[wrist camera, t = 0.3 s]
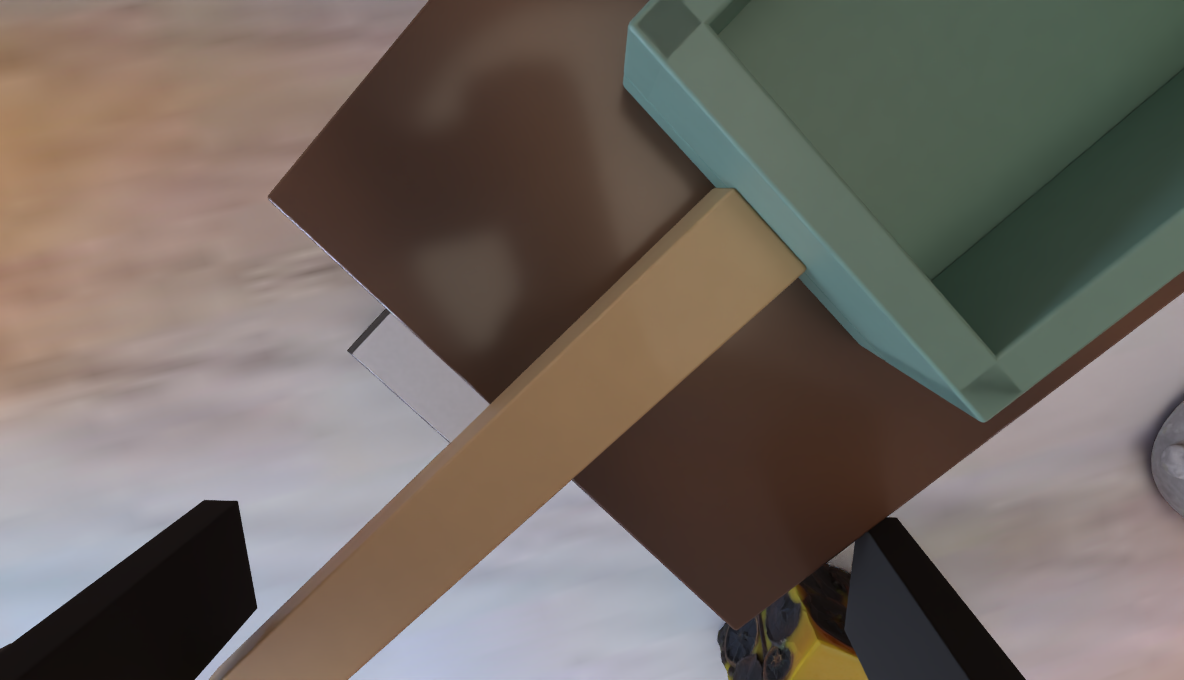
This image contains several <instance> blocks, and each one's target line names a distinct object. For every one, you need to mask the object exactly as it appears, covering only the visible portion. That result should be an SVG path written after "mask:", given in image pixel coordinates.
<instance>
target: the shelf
mask: <svg viewBox="0 0 1184 680" xmlns="http://www.w3.org/2000/svg"><path fill="white" fill-rule="evenodd" d="M648 2H649V0H429V1H428V2H427V3H426V5H425V6H424V7H423V8H422V9H421V11H420V12H419V13H418V14H417V15H416V17H415V18H414V19H413V20H412V22H411V23H410V24H409V25H408V26H407V28H406V29H405V30H404V31H403V32H402V34H401V35H400V36H399V37H398V39H397V40H396V41H395V42H394V43H393V45H392V46H391V47H390V48H389V49H388V51H387V52H386V53H385V54H384V56H383V57H382V58H381V59H380V60H379V62H378V63H377V64H376V65H375V66H374V68H373V69H372V70H371V71H370V72H369V74H368V75H367V76H366V77H365V79H364V80H363V81H362V82H361V83H360V85H359V86H358V87H357V88H356V89H355V91H354V92H353V93H352V94H351V96H350V97H349V98H348V99H347V100H346V102H345V103H344V104H343V105H342V106H341V108H340V109H339V110H338V111H337V113H336V114H335V115H334V116H333V117H332V119H331V120H330V121H329V122H328V123H327V125H326V126H325V127H324V128H323V130H322V131H321V132H320V133H319V134H318V136H317V137H316V138H315V139H314V140H313V142H312V143H311V144H310V145H309V147H308V148H307V149H306V150H305V151H304V153H303V154H302V155H301V156H300V157H299V159H298V160H297V161H296V162H295V164H294V165H293V166H292V167H291V168H290V170H289V171H288V172H287V173H286V174H285V176H284V177H283V178H282V179H281V180H280V182H279V183H278V184H277V185H276V187H275V188H274V189H273V190H272V191H271V193H270V194H269V195H268V199H269V201H270V202H271V203H273V204H274V205H275V206H276V207H277V208H278V209H279V210H280V211H281V212H282V213H283V214H284V215H285V216H287V217H288V218H289V219H290V220H291V221H292V222H293V223H294V224H295V225H296V226H297V227H298V228H300V229H301V230H302V231H303V232H304V233H305V234H306V235H307V236H308V237H309V238H310V239H311V240H313V241H314V242H315V243H316V244H317V245H318V246H319V247H320V248H321V249H322V250H323V251H324V252H326V253H327V254H328V255H329V256H330V257H331V258H332V259H333V260H334V261H335V262H336V263H337V264H339V265H340V266H341V267H342V268H343V269H344V270H345V271H346V272H347V273H348V274H349V275H350V276H352V277H353V278H354V279H355V280H356V281H357V282H358V283H359V284H360V285H361V286H362V287H363V288H365V289H366V290H367V291H368V292H369V293H370V294H371V295H372V296H373V297H374V298H375V299H376V300H377V301H379V302H380V303H381V304H382V305H383V306H384V307H385V308H386V309H387V310H388V311H389V312H390V313H392V314H393V315H394V316H395V317H396V318H397V319H398V320H399V321H400V322H401V323H402V324H403V325H405V326H406V327H407V328H408V329H409V330H410V331H411V332H412V333H413V334H414V335H415V336H416V337H418V338H419V339H420V340H421V341H422V342H423V343H424V344H425V345H426V346H427V347H428V348H429V349H431V350H432V351H433V352H434V353H435V354H436V355H437V356H438V357H439V358H440V359H441V360H442V361H444V362H445V363H446V364H447V365H448V366H449V367H450V368H451V369H452V370H453V371H454V372H455V373H457V374H458V375H459V376H460V377H461V378H462V379H463V380H464V381H465V382H466V383H467V384H468V385H470V386H471V387H472V388H473V389H474V390H475V391H476V392H477V393H478V394H479V395H480V396H481V397H482V398H484V399H485V400H486V401H487V402H488V403H489V404H491V403H492V402H493V401H494V400H495V399H496V398H497V397H498V396H499V395H500V394H501V393H502V392H503V391H504V390H506V389H507V388H508V387H509V386H510V385H511V384H512V383H513V382H514V381H515V380H516V379H517V378H518V377H519V376H520V375H521V374H522V373H523V372H524V371H525V370H526V369H527V368H528V367H529V366H530V365H531V364H532V363H533V362H534V361H535V360H536V359H538V358H539V357H540V356H541V355H542V354H543V353H544V352H545V351H546V350H547V349H548V348H549V347H550V346H551V345H552V344H553V343H554V342H555V341H556V340H557V339H558V338H559V337H560V336H561V335H562V334H563V333H564V332H565V331H566V330H567V329H568V328H569V327H571V326H572V325H573V324H574V323H575V322H576V321H577V320H578V319H579V318H580V317H581V316H582V315H583V314H584V313H585V312H586V311H587V310H588V309H589V308H590V307H591V306H592V305H593V304H594V303H595V302H596V301H597V300H598V299H599V298H600V297H601V296H603V295H604V294H605V293H606V292H607V291H608V290H609V289H610V288H611V287H612V286H613V285H614V284H615V283H616V282H617V281H618V280H619V279H620V278H621V277H622V276H623V275H624V274H625V273H626V272H627V271H628V270H629V269H630V268H631V267H632V266H633V265H635V264H636V263H637V262H638V261H639V260H640V259H641V258H642V257H643V256H644V255H645V254H646V253H647V252H648V251H649V250H650V249H651V248H652V247H653V246H654V245H655V244H656V243H657V242H658V241H659V240H660V239H661V238H662V237H663V236H664V235H665V234H667V233H668V232H669V231H670V230H671V229H672V228H673V227H674V226H675V225H676V224H677V223H678V222H679V221H680V220H681V219H682V218H683V217H684V216H685V215H686V214H687V213H688V212H689V211H690V210H691V209H692V208H693V207H694V206H695V205H696V204H697V203H699V202H700V201H701V200H702V199H703V198H704V197H705V196H706V195H707V194H708V193H709V192H710V191H711V190H712V189H714V188H716V187H715V186H714V185H713V184H712V183H711V181H710V180H709V179H708V178H707V177H706V176H705V175H704V174H703V173H702V172H701V171H700V169H699V168H698V167H697V166H696V165H695V164H694V163H693V162H692V161H691V160H690V159H689V157H688V156H687V155H686V154H685V153H684V152H683V151H682V150H681V149H680V148H679V146H678V145H677V144H676V143H675V142H674V141H673V140H672V139H671V138H670V137H669V136H668V134H667V133H666V132H665V131H664V130H663V129H662V128H661V127H660V126H659V125H658V124H657V122H656V121H655V120H654V119H653V118H652V117H651V116H650V115H649V114H648V113H647V111H646V110H645V109H644V108H643V107H642V106H641V105H640V104H639V103H638V102H637V101H636V99H635V98H634V97H633V96H632V95H631V94H630V93H629V92H628V91H627V90H626V89H625V87H624V85H623V77H624V63H625V53H626V42H627V32H628V25H629V23H630V21H631V20H632V19H633V18H634V17H635V16H636V15H637V13H638V12H639V11H640V10H641V9H642V8H643V7H644V6H645V5H646V4H647V3H648ZM1183 292H1184V271H1183V272H1182V273H1180V274H1179V275H1178V276H1176V277H1175V278H1174V279H1172V280H1171V281H1170V282H1168V283H1167V284H1166V285H1165V286H1163V287H1162V288H1161V289H1159V290H1158V291H1157V292H1155V293H1154V294H1153V295H1152V296H1150V297H1149V298H1148V299H1146V300H1145V301H1144V302H1142V303H1141V304H1140V305H1138V306H1137V307H1136V308H1135V309H1133V310H1132V311H1131V312H1129V313H1128V314H1127V315H1125V316H1124V317H1123V318H1121V319H1120V320H1119V321H1118V322H1116V323H1115V324H1114V325H1112V326H1111V327H1110V328H1108V329H1107V330H1106V331H1105V332H1103V333H1102V334H1101V335H1099V336H1098V337H1097V338H1095V339H1094V340H1093V341H1091V342H1090V343H1089V344H1088V345H1086V346H1085V347H1084V348H1082V349H1081V350H1080V351H1078V352H1077V353H1076V354H1074V355H1073V356H1072V357H1071V358H1069V359H1068V360H1067V361H1065V362H1064V363H1063V364H1061V365H1060V366H1059V367H1058V368H1056V369H1055V370H1054V371H1052V372H1051V373H1050V374H1048V375H1047V376H1046V377H1044V378H1043V379H1042V380H1041V381H1039V382H1038V383H1037V384H1035V385H1034V386H1033V387H1031V388H1030V389H1029V390H1027V391H1026V392H1025V393H1024V394H1022V395H1021V396H1020V397H1018V398H1017V399H1016V400H1014V401H1013V402H1012V403H1011V404H1009V405H1008V406H1007V407H1005V408H1004V409H1003V410H1001V411H1000V412H999V413H997V414H996V415H995V416H994V417H992V418H991V419H990V420H988V421H987V422H980V421H978V420H977V419H975V418H974V417H972V416H970V415H969V414H967V413H966V412H964V411H963V410H961V409H959V408H958V407H956V406H955V405H953V404H952V403H950V402H948V401H947V400H945V399H944V398H942V397H941V396H939V395H937V394H936V393H934V392H933V391H931V390H930V389H928V388H926V387H925V386H923V385H922V384H920V383H919V382H917V381H915V380H914V379H912V378H911V377H909V376H908V375H906V374H905V373H903V372H901V371H900V370H898V369H897V368H895V367H894V366H892V365H890V364H889V363H887V362H886V361H885V360H883V359H881V358H880V357H878V356H877V355H875V354H873V353H872V352H870V351H869V350H867V349H866V348H864V347H862V346H861V345H860V344H859V343H858V342H857V341H856V340H855V339H854V338H853V337H852V336H851V335H850V333H849V332H848V331H847V330H846V329H845V328H844V327H843V326H842V325H841V324H840V323H839V321H838V320H837V319H836V318H835V317H834V316H833V315H832V314H831V313H830V312H829V310H828V309H827V308H826V307H825V306H824V305H823V304H822V303H821V302H820V301H819V300H818V298H817V297H816V296H815V295H814V294H813V293H812V292H811V291H810V290H809V289H808V288H807V286H806V285H805V284H804V283H803V282H802V281H801V280H800V279H799V278H797V279H796V280H795V281H794V282H792V283H791V284H790V285H789V286H788V287H787V288H786V289H785V290H783V291H782V292H781V293H780V294H779V295H778V296H777V297H776V298H775V299H773V300H772V301H771V302H770V303H769V304H768V305H767V306H766V307H764V308H763V309H762V310H761V311H760V312H759V313H758V314H757V315H755V316H754V317H753V318H752V319H751V320H750V321H749V322H748V323H747V324H745V325H744V326H743V327H742V328H741V329H740V330H739V331H738V332H736V333H735V334H734V335H733V336H732V337H731V338H730V339H729V340H728V341H726V342H725V343H724V344H723V345H722V346H721V347H720V348H719V349H717V350H716V351H715V352H714V353H713V354H712V355H711V356H710V357H708V358H707V359H706V360H705V361H704V362H703V363H702V364H701V365H700V366H698V367H697V368H696V369H695V370H694V371H693V372H692V373H691V374H689V375H688V376H687V377H686V378H685V379H684V380H683V381H682V382H680V383H679V384H678V385H677V386H676V387H675V388H674V389H673V390H672V391H670V392H669V393H668V394H667V395H666V396H665V397H664V398H663V399H661V400H660V401H659V402H658V403H657V404H656V405H655V406H654V407H653V408H651V409H650V410H649V411H648V412H647V413H646V414H645V415H644V416H642V417H641V418H640V419H639V420H638V421H637V422H636V423H635V424H633V425H632V426H631V427H630V428H629V429H628V430H627V431H626V432H625V433H623V434H622V435H621V436H620V437H619V438H618V439H617V440H616V441H614V442H613V443H612V444H611V445H610V446H609V447H608V448H607V449H605V450H604V451H603V452H602V453H601V454H600V455H599V456H598V457H597V458H595V459H594V460H593V461H592V462H591V463H590V464H589V465H588V466H586V467H585V468H584V469H583V470H582V471H581V472H580V473H579V474H577V475H576V476H575V477H574V478H573V479H572V481H573V482H574V483H576V484H577V485H578V486H579V487H580V488H581V489H582V490H583V491H584V492H585V493H586V494H587V495H589V496H590V497H591V498H592V499H593V500H594V501H595V502H596V503H597V504H598V505H599V506H600V507H602V508H603V509H604V510H605V511H606V512H607V513H608V514H609V515H610V516H611V517H612V518H613V519H615V520H616V521H617V522H618V523H619V524H620V525H621V526H622V527H623V528H624V529H625V530H626V531H628V532H629V533H630V534H631V535H632V536H633V537H634V538H635V539H636V540H637V541H638V542H639V543H641V544H642V545H643V546H644V547H645V548H646V549H647V550H648V551H649V552H650V553H651V554H652V555H654V556H655V557H656V558H657V559H658V560H659V561H660V562H661V563H662V564H663V565H664V566H665V567H667V568H668V569H669V570H670V571H671V572H672V573H673V574H674V575H675V576H676V577H677V578H678V579H679V580H681V581H682V582H683V583H684V584H685V585H686V586H687V587H688V588H689V589H690V590H691V591H692V592H694V593H695V594H696V595H697V596H698V597H699V598H700V599H701V600H702V601H703V602H704V603H705V604H707V605H708V606H709V607H710V608H711V609H712V610H713V611H714V612H715V613H716V614H717V615H718V616H720V617H721V618H722V619H723V620H724V621H725V622H726V623H727V624H728V625H729V626H730V627H731V628H733V629H734V630H738V629H740V628H741V627H742V626H744V625H745V624H746V623H748V622H749V621H750V620H752V619H753V618H754V617H756V616H757V615H758V614H759V613H761V612H762V611H763V610H765V609H766V608H767V607H769V606H770V605H771V604H773V603H774V602H775V601H777V600H778V599H779V598H781V597H782V596H783V595H785V594H786V593H787V592H789V591H790V590H791V589H792V588H794V587H795V586H796V585H798V584H799V583H800V582H802V581H803V580H804V579H806V578H807V577H808V576H810V575H811V574H812V573H814V572H815V571H816V570H818V569H819V568H820V567H821V566H823V565H824V564H825V563H827V562H828V561H829V560H831V559H832V558H833V557H835V556H836V555H837V554H839V553H840V552H841V551H843V550H844V549H845V548H847V547H848V546H849V545H851V544H852V543H853V542H854V541H856V540H857V539H858V538H860V537H861V536H862V535H864V534H865V533H866V532H868V531H869V530H870V529H872V528H873V527H874V526H876V525H877V524H878V523H880V522H881V521H882V520H884V519H885V518H886V517H887V516H889V515H890V514H891V513H893V512H894V511H895V510H897V509H898V508H899V507H901V506H902V505H903V504H905V503H906V502H907V501H909V500H910V499H911V498H913V497H914V496H915V495H917V494H918V493H919V492H920V491H922V490H923V489H924V488H926V487H927V486H928V485H930V484H931V483H932V482H934V481H935V480H936V479H938V478H939V477H940V476H942V475H943V474H944V473H946V472H947V471H948V470H949V469H951V468H952V467H953V466H955V465H956V464H957V463H959V462H960V461H961V460H963V459H964V458H965V457H967V456H968V455H969V454H971V453H972V452H973V451H975V450H976V449H977V448H979V447H980V446H981V445H982V444H984V443H985V442H986V441H988V440H989V439H990V438H992V437H993V436H994V435H996V434H997V433H998V432H1000V431H1001V430H1002V429H1004V428H1005V427H1006V426H1008V425H1009V424H1010V423H1012V422H1013V421H1014V420H1015V419H1017V418H1018V417H1019V416H1021V415H1022V414H1023V413H1025V412H1026V411H1027V410H1029V409H1030V408H1031V407H1033V406H1034V405H1035V404H1037V403H1038V402H1039V401H1041V400H1042V399H1043V398H1045V397H1046V396H1047V395H1048V394H1050V393H1051V392H1052V391H1054V390H1055V389H1056V388H1058V387H1059V386H1060V385H1062V384H1063V383H1064V382H1066V381H1067V380H1068V379H1070V378H1071V377H1072V376H1074V375H1075V374H1076V373H1078V372H1079V371H1080V370H1081V369H1083V368H1084V367H1085V366H1087V365H1088V364H1089V363H1091V362H1092V361H1093V360H1095V359H1096V358H1097V357H1099V356H1100V355H1101V354H1103V353H1104V352H1105V351H1107V350H1108V349H1109V348H1110V347H1112V346H1113V345H1114V344H1116V343H1117V342H1118V341H1120V340H1121V339H1122V338H1124V337H1125V336H1126V335H1128V334H1129V333H1130V332H1132V331H1133V330H1134V329H1136V328H1137V327H1138V326H1140V325H1141V324H1142V323H1143V322H1145V321H1146V320H1147V319H1149V318H1150V317H1151V316H1153V315H1154V314H1155V313H1157V312H1158V311H1159V310H1161V309H1162V308H1163V307H1165V306H1166V305H1167V304H1169V303H1170V302H1171V301H1173V300H1174V299H1175V298H1176V297H1178V296H1179V295H1180V294H1182V293H1183Z"/></svg>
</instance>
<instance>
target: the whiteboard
mask: <svg viewBox="0 0 1184 680" xmlns="http://www.w3.org/2000/svg"><path fill="white" fill-rule="evenodd" d="M347 351H348V352H349V353H350V354H351V355H352V356H353V357H354V358H355V359H357V360H358V361H359V362H360V363H361V364H362V365H363V366H364V367H366V368H367V369H368V370H369V371H370V372H371V373H372V374H373V375H374V376H376V377H377V378H378V379H379V380H380V381H381V382H382V383H383V384H384V385H386V386H387V387H388V388H389V389H390V390H391V391H392V392H393V393H395V394H396V395H397V396H398V397H399V398H400V399H401V400H402V401H403V402H405V403H406V404H407V405H408V406H409V407H410V408H411V409H412V410H413V411H415V412H416V413H417V414H418V415H419V416H420V417H421V418H422V419H424V420H425V421H426V422H427V423H428V424H429V425H430V426H431V427H432V428H434V429H435V430H436V431H437V432H438V433H439V434H440V435H441V436H442V437H444V438H445V439H446V440H447V441H448V442H449V443H451V442H452V441H453V440H454V439H455V438H456V437H457V436H458V435H459V434H460V433H461V432H462V431H463V430H464V429H465V428H466V427H467V426H468V425H469V424H470V423H471V422H472V421H474V420H475V419H476V418H477V417H478V416H479V415H480V414H481V413H482V412H483V411H484V410H485V409H486V408H487V407H488V406H489V405H490V404H489V403H488V402H487V401H486V400H485V399H484V398H482V397H481V396H480V395H479V394H478V393H477V392H476V391H475V390H474V389H473V388H472V387H471V386H470V385H468V384H467V383H466V382H465V381H464V380H463V379H462V378H461V377H460V376H459V375H458V374H457V373H455V372H454V371H453V370H452V369H451V368H450V367H449V366H448V365H447V364H446V363H445V362H444V361H442V360H441V359H440V358H439V357H438V356H437V355H436V354H435V353H434V352H433V351H432V350H431V349H429V348H428V347H427V346H426V345H425V344H424V343H423V342H422V341H421V340H420V339H419V338H418V337H416V336H415V335H414V334H413V333H412V332H411V331H410V330H409V329H408V328H407V327H406V326H405V325H403V324H402V323H401V322H400V321H399V320H398V319H397V318H396V317H395V316H394V315H393V314H392V313H390V312H389V311H388V310H387V309H385V310H384V311H383V312H382V313H381V314H380V316H379V317H378V318H377V319H376V320H375V321H374V322H373V323H372V324H371V325H370V326H369V327H368V328H367V329H366V331H365V332H364V333H363V334H362V335H361V336H360V337H359V338H358V339H357V340H356V341H355V342H354V343H353V345H352V346H351V347H350V348H349V349H348V350H347Z"/></svg>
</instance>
